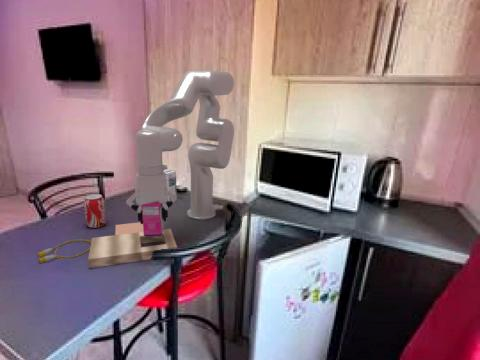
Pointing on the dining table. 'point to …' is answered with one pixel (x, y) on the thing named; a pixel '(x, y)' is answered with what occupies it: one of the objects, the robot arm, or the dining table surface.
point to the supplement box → (152, 219)
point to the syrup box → (171, 181)
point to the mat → (129, 228)
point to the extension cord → (51, 257)
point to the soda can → (94, 210)
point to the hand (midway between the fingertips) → (153, 220)
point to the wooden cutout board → (126, 248)
